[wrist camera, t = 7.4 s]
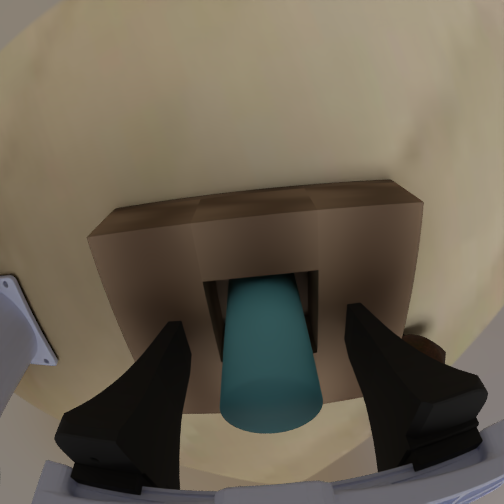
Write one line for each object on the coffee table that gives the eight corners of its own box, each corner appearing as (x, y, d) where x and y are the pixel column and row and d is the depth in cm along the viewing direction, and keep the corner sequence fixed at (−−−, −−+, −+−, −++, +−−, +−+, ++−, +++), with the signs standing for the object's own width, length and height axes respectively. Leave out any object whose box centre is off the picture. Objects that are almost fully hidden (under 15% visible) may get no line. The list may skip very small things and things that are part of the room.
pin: (238, 311, 18) (234, 438, 11) (221, 258, 16) (205, 385, 9) (298, 299, 17) (325, 424, 10) (288, 244, 16) (319, 366, 9)
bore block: (169, 373, 21) (161, 413, 18) (115, 208, 15) (86, 237, 12) (372, 353, 20) (387, 391, 17) (390, 179, 15) (423, 202, 12)
